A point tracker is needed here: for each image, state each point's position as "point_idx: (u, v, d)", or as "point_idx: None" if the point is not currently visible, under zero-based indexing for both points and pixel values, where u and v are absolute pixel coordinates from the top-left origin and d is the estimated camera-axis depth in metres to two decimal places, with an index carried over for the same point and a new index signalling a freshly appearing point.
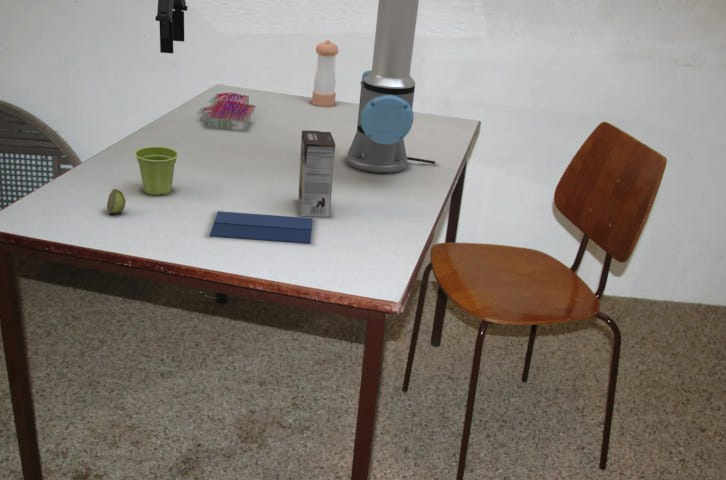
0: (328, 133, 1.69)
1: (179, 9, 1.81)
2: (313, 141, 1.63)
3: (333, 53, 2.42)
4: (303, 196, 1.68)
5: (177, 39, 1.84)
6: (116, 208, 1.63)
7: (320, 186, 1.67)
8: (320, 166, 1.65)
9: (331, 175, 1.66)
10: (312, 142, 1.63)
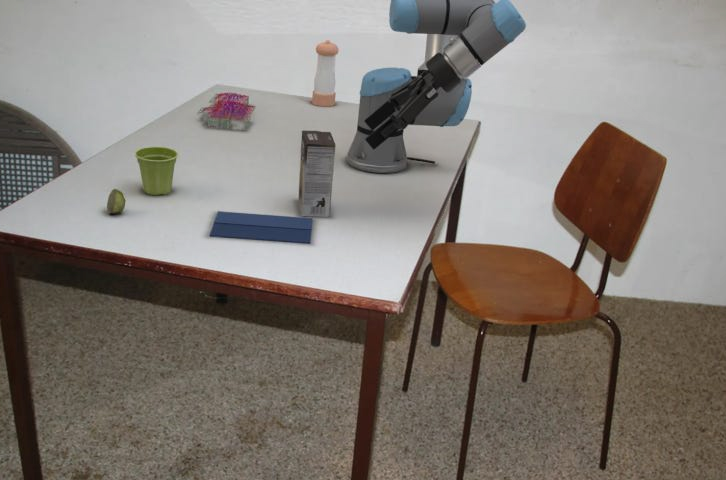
0: (328, 133, 1.69)
1: (394, 105, 1.69)
2: (313, 141, 1.63)
3: (333, 53, 2.42)
4: (303, 196, 1.68)
5: (369, 124, 1.71)
6: (116, 208, 1.63)
7: (320, 186, 1.67)
8: (320, 165, 1.65)
9: (331, 175, 1.66)
10: (312, 142, 1.63)
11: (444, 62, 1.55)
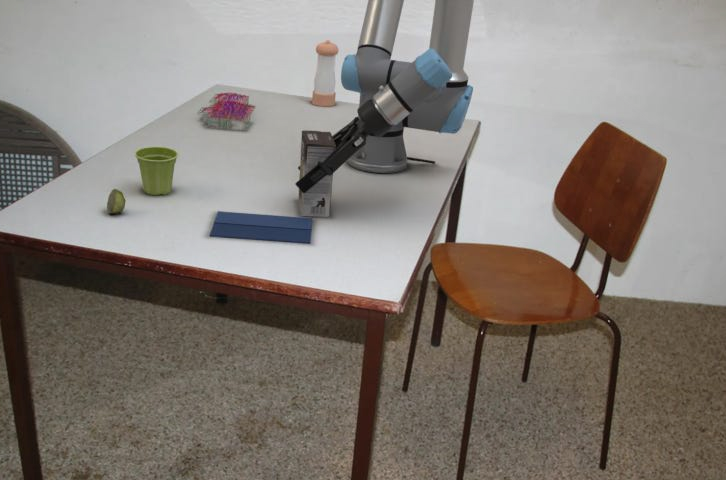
0: (328, 133, 1.69)
1: None
2: (313, 141, 1.63)
3: (333, 53, 2.42)
4: (303, 196, 1.68)
5: None
6: (116, 208, 1.63)
7: (320, 186, 1.67)
8: None
9: (331, 175, 1.66)
10: (312, 142, 1.63)
11: (374, 109, 1.60)
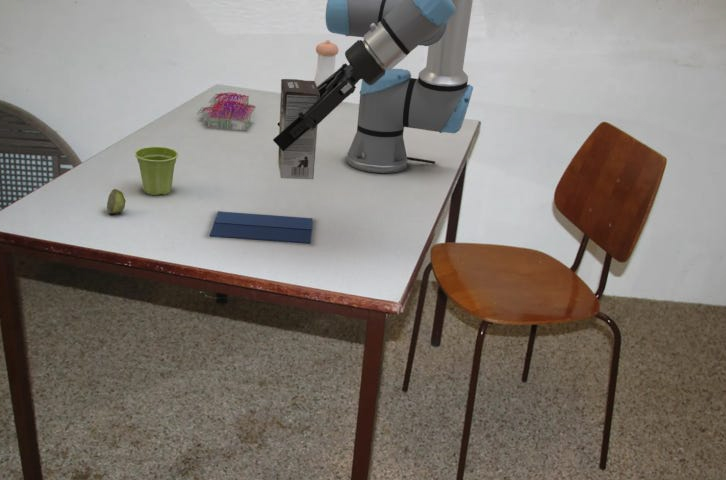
0: (311, 82, 1.45)
1: None
2: (293, 89, 1.40)
3: (333, 53, 2.42)
4: (282, 154, 1.44)
5: None
6: (116, 208, 1.63)
7: (302, 142, 1.43)
8: None
9: (315, 129, 1.43)
10: (292, 90, 1.40)
11: (364, 50, 1.37)
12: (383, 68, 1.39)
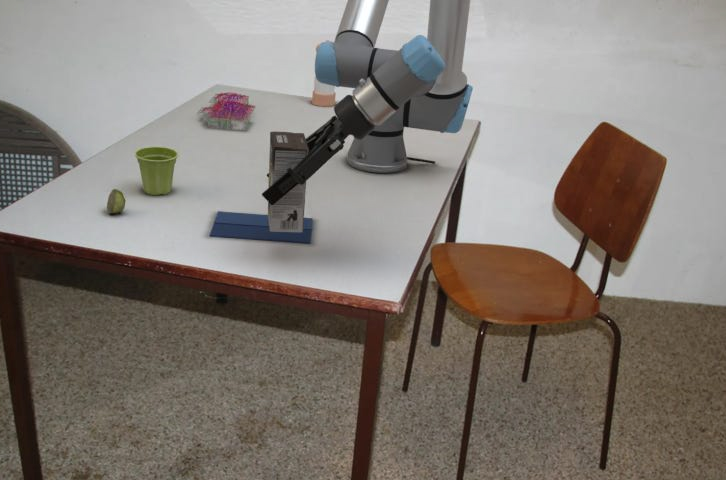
0: (301, 135, 1.44)
1: None
2: (282, 144, 1.39)
3: None
4: (271, 208, 1.43)
5: None
6: (116, 208, 1.63)
7: (291, 196, 1.42)
8: None
9: (304, 184, 1.41)
10: (280, 145, 1.38)
11: (353, 106, 1.35)
12: (372, 123, 1.38)
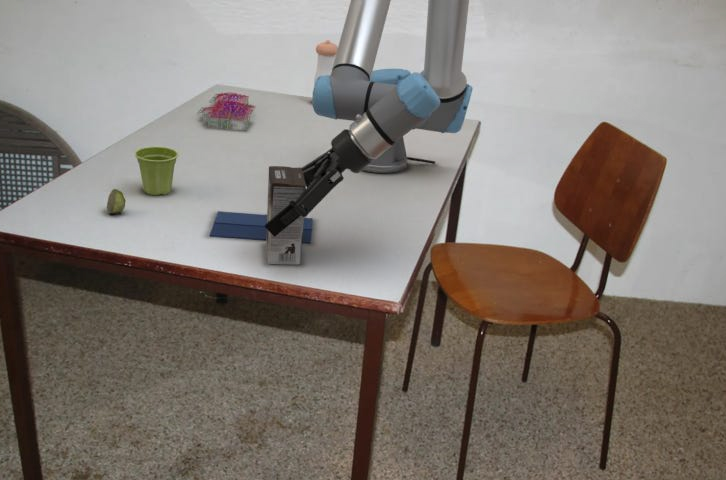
0: (298, 170, 1.48)
1: None
2: (280, 180, 1.42)
3: (333, 53, 2.42)
4: (270, 242, 1.47)
5: None
6: (116, 208, 1.63)
7: (289, 230, 1.46)
8: None
9: (301, 218, 1.45)
10: (278, 181, 1.42)
11: (349, 142, 1.38)
12: (369, 157, 1.41)
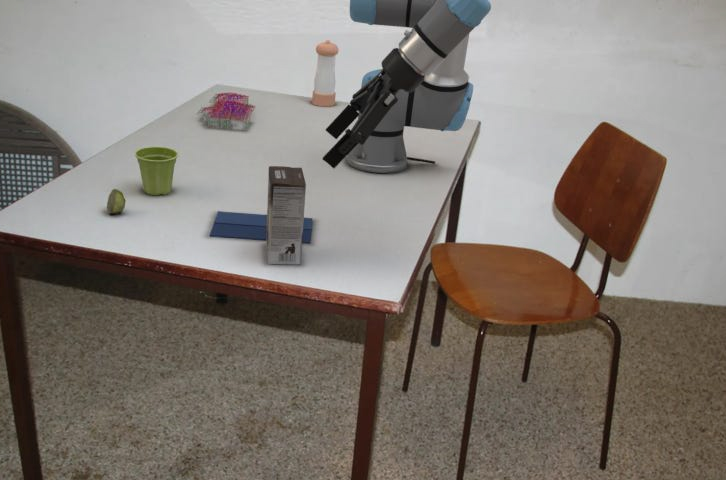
0: (298, 170, 1.48)
1: (356, 108, 1.50)
2: (280, 180, 1.42)
3: (333, 53, 2.42)
4: (270, 242, 1.47)
5: (331, 133, 1.52)
6: (116, 208, 1.63)
7: (289, 230, 1.46)
8: (288, 208, 1.43)
9: (301, 218, 1.45)
10: (278, 181, 1.42)
11: (400, 60, 1.34)
12: (422, 74, 1.36)
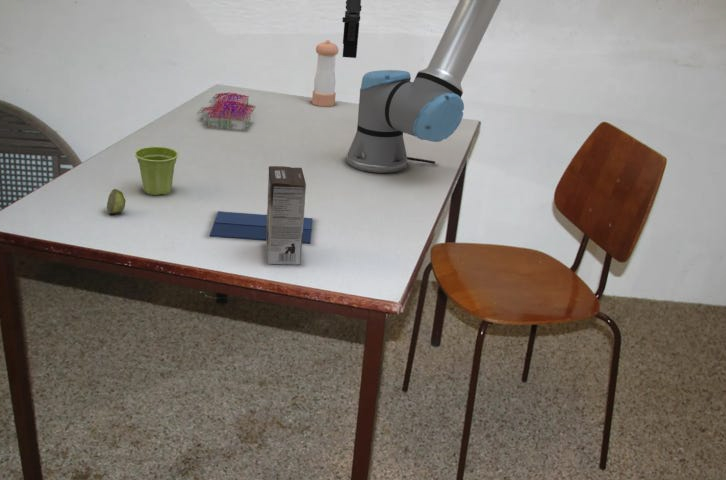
0: (298, 170, 1.48)
1: None
2: (280, 180, 1.42)
3: (333, 53, 2.42)
4: (270, 242, 1.47)
5: None
6: (116, 208, 1.63)
7: (289, 230, 1.46)
8: (288, 208, 1.43)
9: (301, 218, 1.45)
10: (278, 181, 1.42)
11: None
12: None
